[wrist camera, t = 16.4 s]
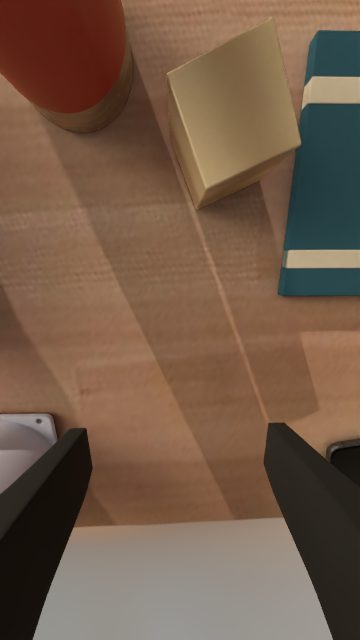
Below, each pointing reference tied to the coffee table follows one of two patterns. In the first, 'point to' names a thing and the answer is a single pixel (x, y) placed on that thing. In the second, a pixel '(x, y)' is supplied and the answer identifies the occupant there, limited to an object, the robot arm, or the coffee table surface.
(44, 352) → the coffee table surface
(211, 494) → the coffee table surface
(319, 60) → the towel
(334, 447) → the smartphone
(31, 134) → the coffee table surface
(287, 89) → the block
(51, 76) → the can
